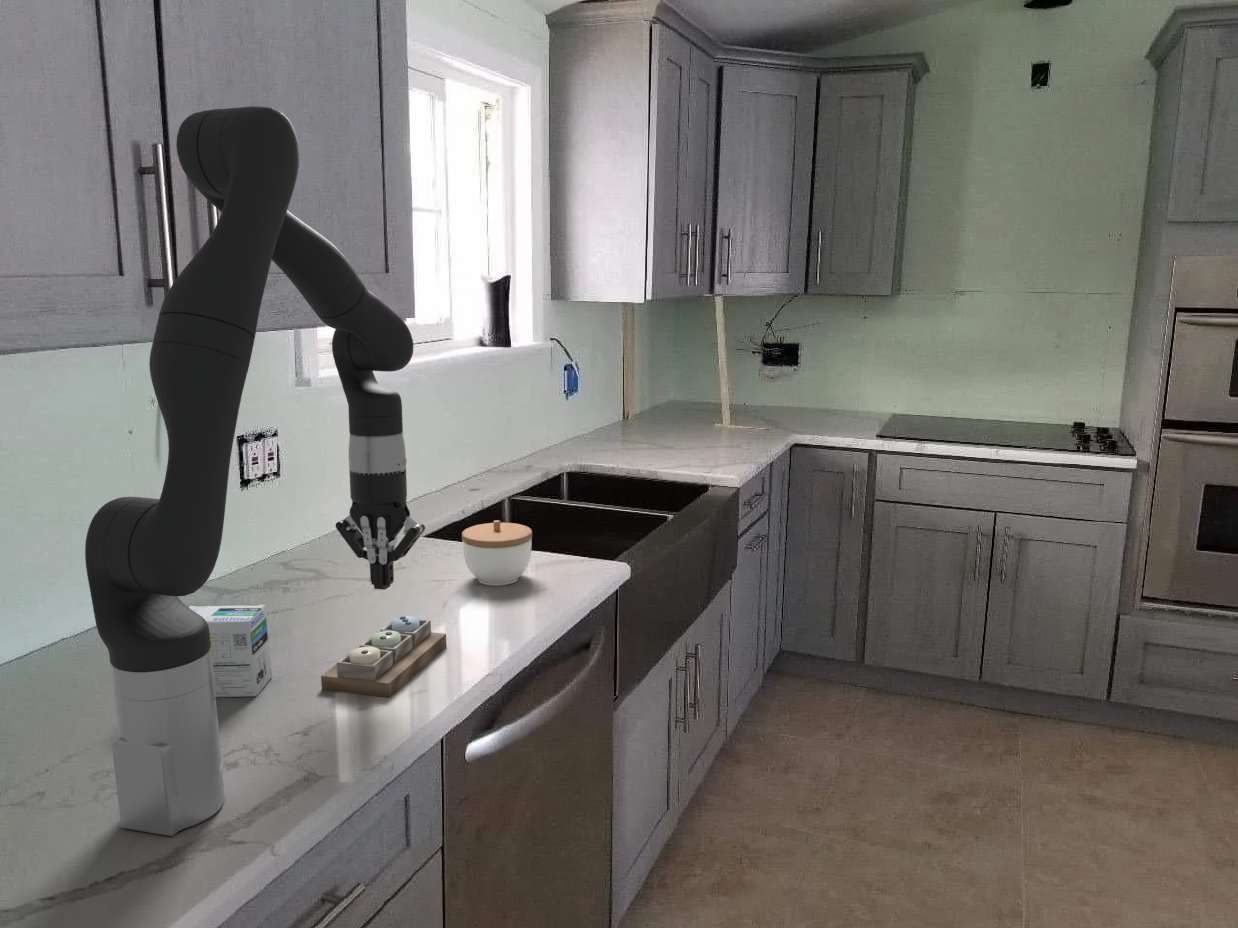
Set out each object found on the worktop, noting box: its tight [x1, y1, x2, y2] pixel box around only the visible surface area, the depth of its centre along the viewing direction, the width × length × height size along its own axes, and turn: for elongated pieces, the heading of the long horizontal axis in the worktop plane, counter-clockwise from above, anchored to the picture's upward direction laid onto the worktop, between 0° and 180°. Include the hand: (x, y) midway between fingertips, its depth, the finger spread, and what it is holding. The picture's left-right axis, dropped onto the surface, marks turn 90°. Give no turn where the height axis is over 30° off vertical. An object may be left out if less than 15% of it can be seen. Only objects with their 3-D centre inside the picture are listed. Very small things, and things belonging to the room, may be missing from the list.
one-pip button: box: [349, 647, 380, 665], centre depth 129 cm, size 4×4×3 cm
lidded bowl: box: [461, 519, 533, 587], centre depth 172 cm, size 13×13×11 cm
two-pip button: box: [371, 631, 401, 648], centre depth 134 cm, size 4×4×3 cm
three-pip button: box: [391, 615, 420, 632], centre depth 140 cm, size 4×4×3 cm
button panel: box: [320, 616, 447, 699], centre depth 135 cm, size 18×10×4 cm, turn 166°
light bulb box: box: [189, 604, 273, 698], centre depth 127 cm, size 11×7×11 cm, turn 92°
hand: (382, 587), depth 132 cm, fingers closed
